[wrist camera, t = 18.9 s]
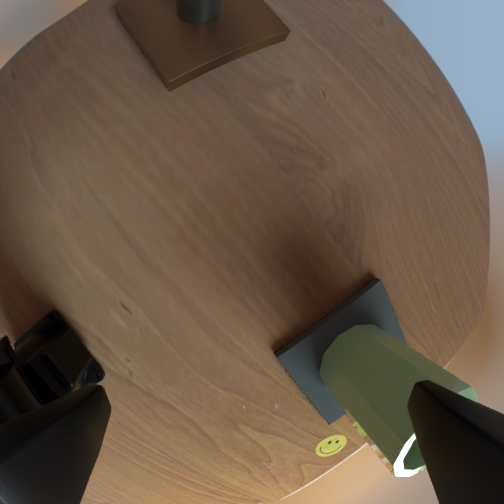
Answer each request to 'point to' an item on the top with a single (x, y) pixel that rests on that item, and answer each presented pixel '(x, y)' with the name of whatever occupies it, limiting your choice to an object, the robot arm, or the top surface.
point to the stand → (198, 33)
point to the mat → (324, 333)
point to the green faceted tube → (382, 391)
